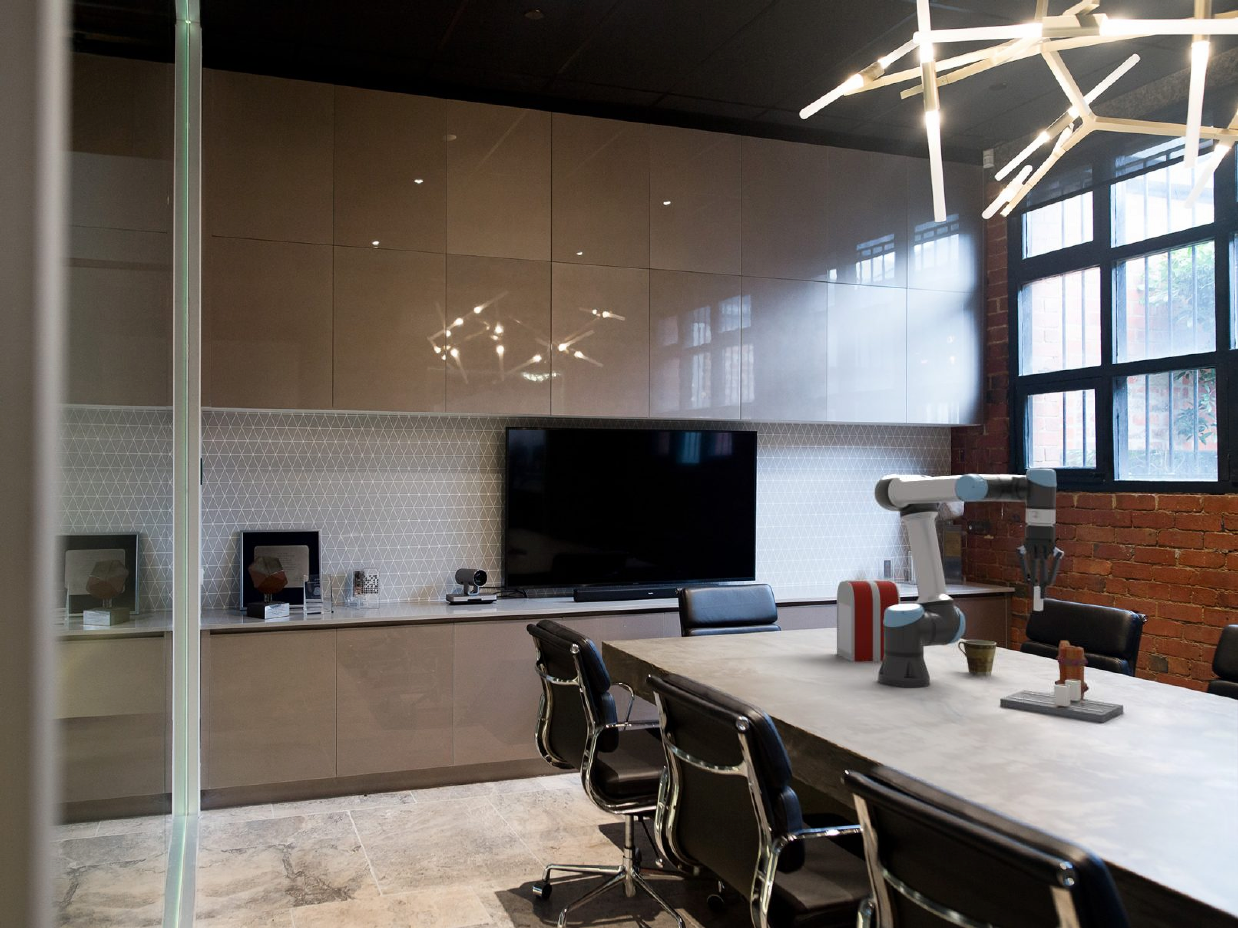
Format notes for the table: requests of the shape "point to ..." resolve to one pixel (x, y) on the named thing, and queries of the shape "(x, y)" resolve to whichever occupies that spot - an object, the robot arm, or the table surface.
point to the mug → (1071, 664)
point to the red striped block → (863, 618)
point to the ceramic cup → (979, 656)
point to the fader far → (1074, 689)
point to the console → (1075, 710)
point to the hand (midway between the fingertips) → (1038, 610)
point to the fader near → (1061, 695)
